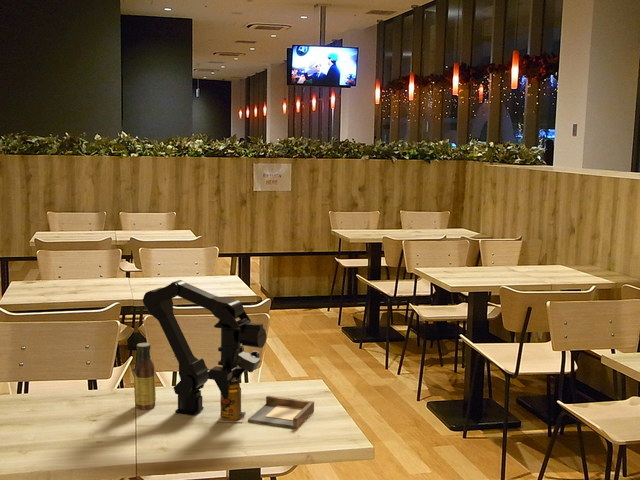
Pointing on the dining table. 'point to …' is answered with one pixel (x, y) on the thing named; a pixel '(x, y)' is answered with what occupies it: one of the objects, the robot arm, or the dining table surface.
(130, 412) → the dining table surface
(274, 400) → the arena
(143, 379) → the sauce bottle
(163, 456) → the dining table surface
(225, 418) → the condiment
